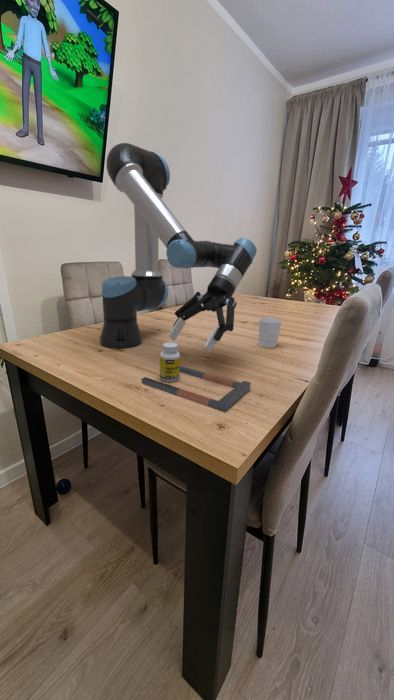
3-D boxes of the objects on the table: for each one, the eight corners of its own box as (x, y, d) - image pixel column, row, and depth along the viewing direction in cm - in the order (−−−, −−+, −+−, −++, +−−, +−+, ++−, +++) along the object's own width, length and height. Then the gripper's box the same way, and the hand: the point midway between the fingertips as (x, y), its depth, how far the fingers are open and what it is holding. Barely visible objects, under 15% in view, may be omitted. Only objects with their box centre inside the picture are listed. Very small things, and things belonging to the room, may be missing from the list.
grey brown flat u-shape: (141, 382, 81) (141, 376, 80) (173, 367, 92) (173, 361, 91) (225, 411, 68) (225, 403, 68) (250, 389, 80) (250, 382, 79)
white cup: (276, 343, 120) (279, 318, 117) (279, 349, 113) (282, 323, 110) (256, 341, 121) (258, 317, 118) (257, 348, 113) (260, 321, 110)
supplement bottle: (164, 383, 81) (164, 348, 78) (156, 376, 86) (156, 342, 82) (182, 380, 83) (183, 346, 80) (174, 373, 88) (175, 340, 85)
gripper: (265, 297, 85) (230, 361, 79) (198, 287, 100) (165, 340, 95) (257, 279, 79) (218, 346, 73) (187, 272, 95) (151, 327, 89)
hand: (188, 343), depth 84 cm, fingers open, 13 cm apart
